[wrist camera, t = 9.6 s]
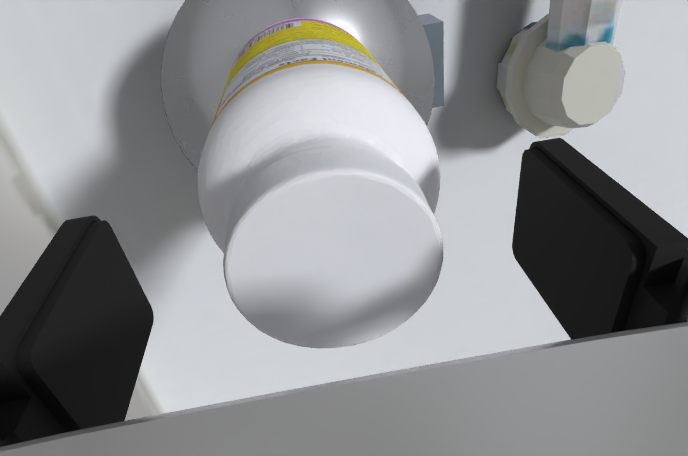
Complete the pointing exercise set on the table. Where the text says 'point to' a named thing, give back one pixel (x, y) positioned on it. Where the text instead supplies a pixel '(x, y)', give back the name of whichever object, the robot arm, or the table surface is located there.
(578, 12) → the light grey long piece
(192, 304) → the table surface
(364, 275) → the supplement bottle
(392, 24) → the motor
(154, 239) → the table surface
